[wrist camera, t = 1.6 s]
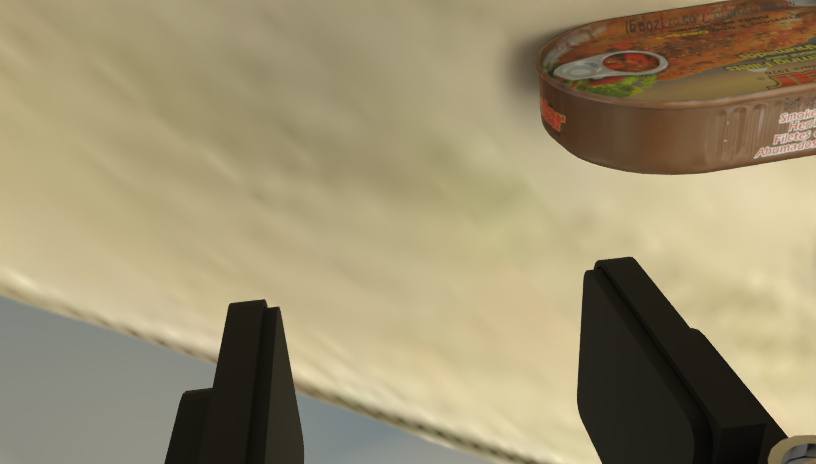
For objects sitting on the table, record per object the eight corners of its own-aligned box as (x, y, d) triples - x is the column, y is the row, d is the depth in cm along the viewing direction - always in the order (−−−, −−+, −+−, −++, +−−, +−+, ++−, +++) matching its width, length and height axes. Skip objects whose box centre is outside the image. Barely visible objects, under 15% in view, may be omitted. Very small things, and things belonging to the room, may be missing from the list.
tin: (892, -26, 28) (1105, 16, 20) (877, 56, 29) (1070, 122, 22) (509, 32, 27) (582, 98, 20) (513, 112, 28) (583, 201, 21)
